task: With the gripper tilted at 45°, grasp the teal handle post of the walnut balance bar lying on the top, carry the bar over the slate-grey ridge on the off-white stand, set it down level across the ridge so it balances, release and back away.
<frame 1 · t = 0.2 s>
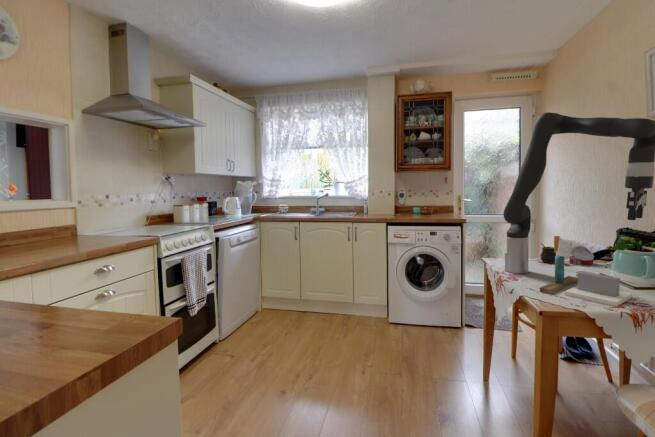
hand: (634, 219, 126), 28 cm above the table, tool pointing down, fingers open, 8 cm apart
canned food: (581, 264, 172), on the table
ridge stand: (597, 296, 128), on the table
balance bar: (559, 287, 141), on the table
mate gourd: (547, 262, 178), on the table
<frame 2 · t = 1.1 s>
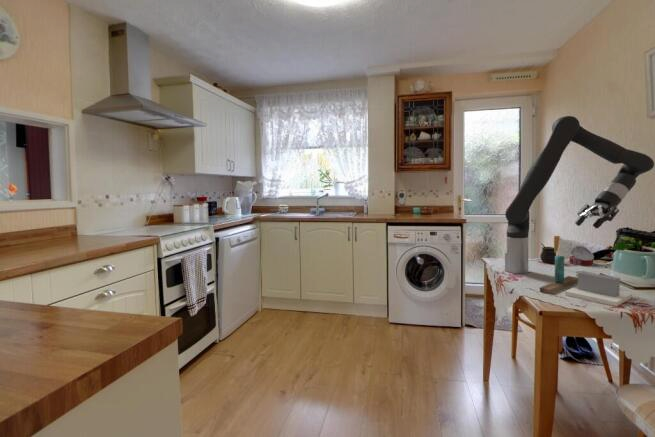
hand: (585, 225, 139), 25 cm above the table, tool tilted 45°, fingers open, 8 cm apart
nothing on the table moved.
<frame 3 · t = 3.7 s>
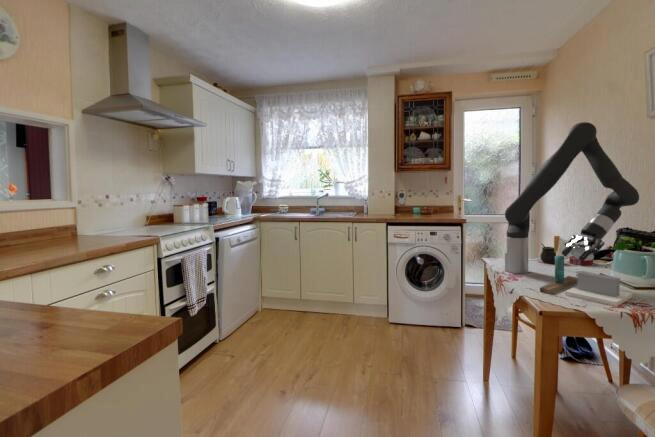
hand: (571, 257, 140), 12 cm above the table, tool tilted 45°, fingers open, 8 cm apart
nothing on the table moved.
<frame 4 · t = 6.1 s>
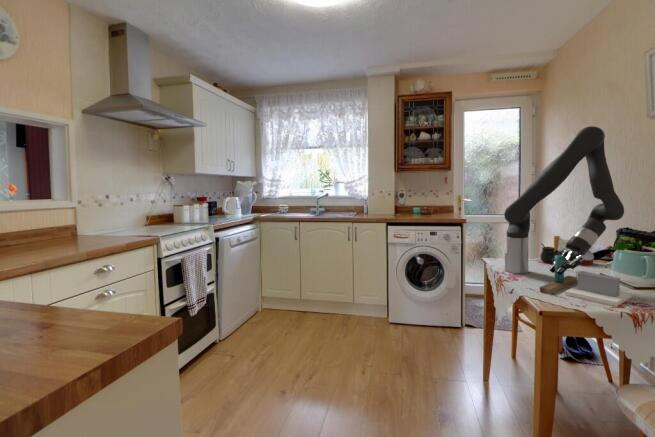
hand: (554, 272, 140), 6 cm above the table, tool tilted 45°, fingers closed on balance bar, 3 cm apart
balance bar: (559, 286, 141), on the table, touching gripper
everything else where it was.
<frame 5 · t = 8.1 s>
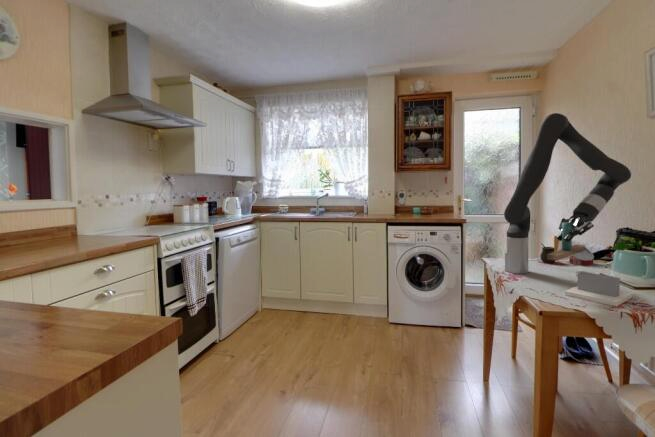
hand: (562, 240, 136), 20 cm above the table, tool tilted 45°, fingers closed on balance bar, 3 cm apart
balance bar: (566, 254, 137), point 14 cm above the table, touching gripper
everything else where it was.
when the fingers open (15 cm above the table, at t = 10.4 s): balance bar stays where it is, resting on ridge stand.
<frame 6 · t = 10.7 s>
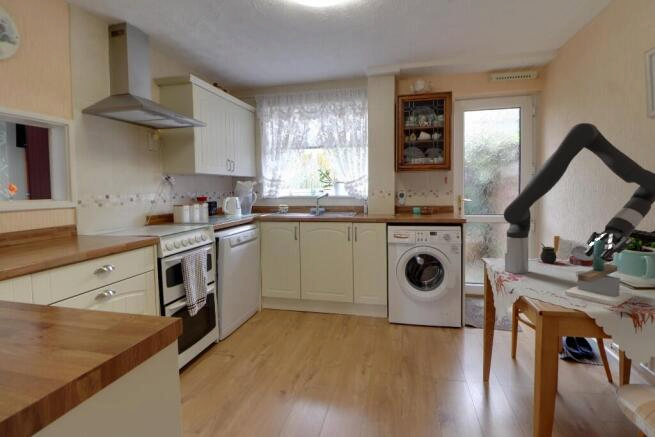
hand: (594, 256, 126), 15 cm above the table, tool tilted 45°, fingers open, 6 cm apart
balance bar: (598, 275, 127), point 8 cm above the table, touching ridge stand
everything else where it was.
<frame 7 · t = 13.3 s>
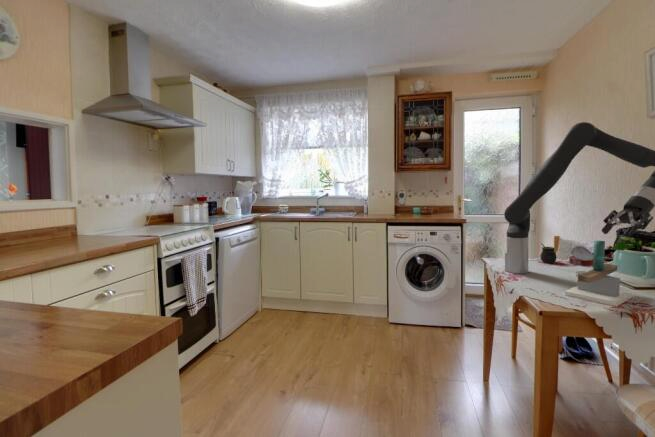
hand: (614, 234, 126), 23 cm above the table, tool tilted 45°, fingers open, 8 cm apart
nothing on the table moved.
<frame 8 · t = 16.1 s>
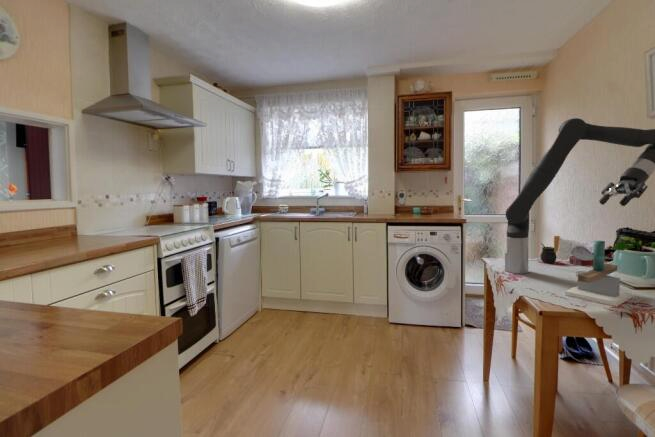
hand: (611, 204, 133), 34 cm above the table, tool tilted 45°, fingers open, 8 cm apart
nothing on the table moved.
at the end: balance bar inside the target area on the ridge stand (0.2 cm from its centre), point 8.0 cm above the ridge stand's base; balance bar tilted 0°; the gripper is holding nothing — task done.
